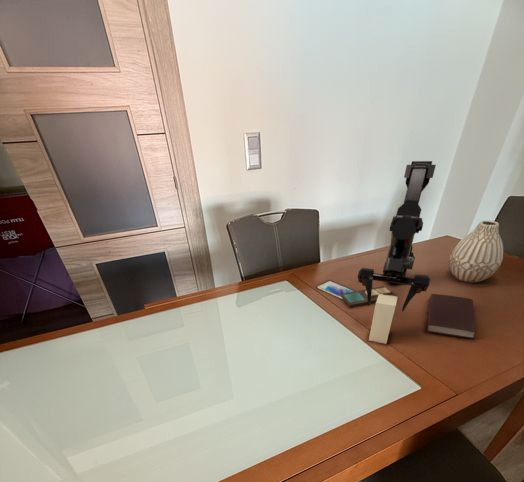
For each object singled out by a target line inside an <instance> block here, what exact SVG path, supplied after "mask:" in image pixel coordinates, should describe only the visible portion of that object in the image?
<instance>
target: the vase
mask: <svg viewBox="0 0 524 482" xmlns="http://www.w3.org/2000/svg"><path fill="white" fill-rule="evenodd" d="M499 229H500V224H499V222H497V221H495V220H481V221H479V222H478V224H477V225H476V227H475V228H474V229H473V230H472V231H470V232H469V233H468V234H467V235H464V237H463V238H461V240H460V241H459V242H458V243H457V244H456V245H455V247H454V248H453V249H452V252H451V253H450V256H449V259H448V260H449V261H448V265H449V270H450V272H451V274H452V275H453V277H454V278H456V279H457V280H458V281H461V282H465V283H471V284H472V283H473V284H475V283H479V282H482V281H485V280H488V279H489V278H490V277H492V276H493V275H494V274H495V273H496V272H497V271H498V269H499V268H500V267H501V265H502V263H503V260H504V251H505V250H504V243H503V240H502V238H501V237H502V236H501V235H500V232H499V231H500V230H499Z"/></svg>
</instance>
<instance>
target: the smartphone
mask: <svg viewBox="0 0 524 482" xmlns="http://www.w3.org/2000/svg"><path fill="white" fill-rule="evenodd" d="M317 289H319V290H321V291H323V292H325V293H327V294H329V295H332V296H334V297H336V298H339V299H342V297H341V296H340V294H344V293H349V292H355V291H356V290H353V289H351V288H348V287H346V286H343V285H341V284H339V283H336V282H334V281H331V280H328V281H326V282H323V283H322V284H320V285H317ZM342 300H343V299H342Z"/></svg>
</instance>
